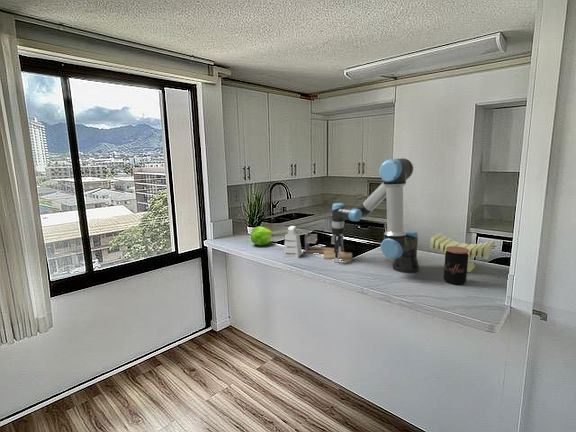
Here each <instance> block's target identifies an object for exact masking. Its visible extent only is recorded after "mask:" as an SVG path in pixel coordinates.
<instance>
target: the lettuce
mask: <svg viewBox="0 0 576 432" xmlns="http://www.w3.org/2000/svg"><path fill="white" fill-rule="evenodd" d="M272 236H273V232H272V230H270V229H269V228H268V227H264V226H261V225H260V226H259V225H258V226H256V227H254V228H253V229H252V231H251V233H250V241H251V243H253V244H254V245H257V246H266V245H267V244H269V243H271V240H272Z"/></svg>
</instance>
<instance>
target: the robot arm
mask: <svg viewBox="0 0 576 432" xmlns="http://www.w3.org/2000/svg"><path fill="white" fill-rule="evenodd" d="M378 173H379V177H380V178H381V180H382V182H381V184H380V185H379V186H378V187H377V188H376V189H375V190H374V191H373V192H372V193H371V194H370V195H369V196H368V197H367V198H366V199H365V200H364V201H363V202H362V203H361V204H360V205H358V206H354V207H345V204H344V203H341V202H336V203H332V206H331V207H332V208H331V216H332V217H331V219H332V220H331V227H332V228H331V234H332V235H335V237H334V239H335V244H334V247H333V248H334V251H333V253H334V260H333V262H334V263H339V262H340V260H339V251H340V252H341V246H342V244H341V236H340V235H341V234H343V235H344V230H345V229H344V228H345V227H344V225H345V223H346V222H344V221H346V220H347V221H351V222H360V220H361V219H362V218H367V217H369V216H371V214H372V212H373V210H374V209H376V207H378V206H379V204H380V203H382V202H383V201H384V200H385V199H386V231H384V233H383V240H382V242H381V243H380V251H381V252H382V254H383V256H385V257H386V258H389V259H393V261H392V264H391V268H392V269H393V270H394V271H396V272H400V273H407V274H410V273H411V274H412V273H417V272H419V271H420V263H419V260H418V257H417V256H418V243H419V242H418V241H419V233H418V232H417V231H413V230H407V229H404V187H405V185H407V180H408V179H410V178H411V176H412V175H413V173H414V164H413V163H412V162H411V161H410V160H409V159H408V158H390V159H387V160H385V161H384V162H382V164H381V165H380V168H379V170H378Z"/></svg>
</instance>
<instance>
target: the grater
mask: <svg viewBox="0 0 576 432" xmlns="http://www.w3.org/2000/svg"><path fill="white" fill-rule="evenodd" d="M302 254H303V251H302V244H301V237H300V232H299V231H297V226H296V225H290V226H288V228H287V232H286V233H285V236H284V245H283V255H282V258H288V257H289V259H290V258H291V259H292V258H293V259H299V258H300V256H301V255H302Z"/></svg>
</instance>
